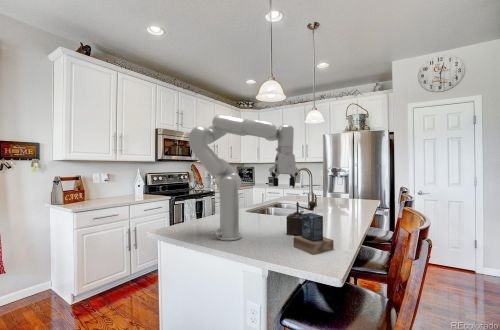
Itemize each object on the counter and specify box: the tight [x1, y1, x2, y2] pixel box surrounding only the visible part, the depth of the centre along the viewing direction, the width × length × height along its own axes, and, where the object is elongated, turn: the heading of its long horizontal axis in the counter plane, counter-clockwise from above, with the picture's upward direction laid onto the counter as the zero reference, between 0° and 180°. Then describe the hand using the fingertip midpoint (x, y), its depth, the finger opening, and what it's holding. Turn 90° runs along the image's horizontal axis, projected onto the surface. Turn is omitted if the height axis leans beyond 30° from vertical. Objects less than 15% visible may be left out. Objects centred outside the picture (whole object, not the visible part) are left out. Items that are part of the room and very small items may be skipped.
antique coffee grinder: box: [285, 200, 317, 237], centre depth 133 cm, size 16×11×18 cm
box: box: [302, 212, 324, 242], centre depth 110 cm, size 8×6×11 cm
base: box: [293, 236, 335, 256], centre depth 110 cm, size 12×12×4 cm
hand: (283, 186), depth 123 cm, fingers open, 9 cm apart
